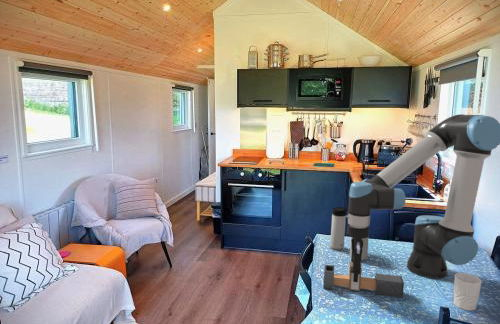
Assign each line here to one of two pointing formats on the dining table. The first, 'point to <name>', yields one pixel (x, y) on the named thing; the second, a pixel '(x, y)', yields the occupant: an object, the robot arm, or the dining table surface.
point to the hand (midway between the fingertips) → (354, 285)
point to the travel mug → (338, 228)
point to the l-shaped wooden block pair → (363, 281)
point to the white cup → (466, 291)
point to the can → (364, 249)
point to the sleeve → (389, 285)
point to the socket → (328, 277)
